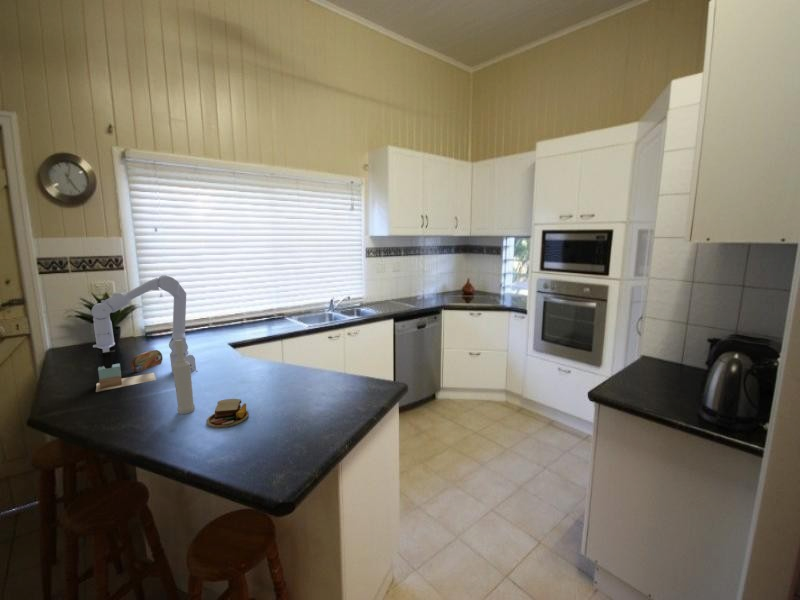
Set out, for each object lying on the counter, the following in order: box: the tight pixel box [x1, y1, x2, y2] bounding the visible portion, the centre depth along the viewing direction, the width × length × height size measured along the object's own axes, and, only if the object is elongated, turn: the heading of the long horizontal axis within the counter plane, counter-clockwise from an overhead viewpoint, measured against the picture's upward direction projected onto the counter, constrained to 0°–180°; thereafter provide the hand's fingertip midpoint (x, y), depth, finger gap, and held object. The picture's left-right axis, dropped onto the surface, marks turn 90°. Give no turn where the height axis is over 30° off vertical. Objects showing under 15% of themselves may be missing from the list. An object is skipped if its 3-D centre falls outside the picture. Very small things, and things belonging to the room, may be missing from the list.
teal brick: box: [97, 363, 122, 381], centre depth 154 cm, size 5×7×4 cm
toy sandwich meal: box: [206, 398, 249, 429], centre depth 123 cm, size 12×14×5 cm
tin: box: [130, 349, 163, 373], centre depth 175 cm, size 15×3×8 cm, turn 168°
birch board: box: [95, 372, 157, 393], centre depth 157 cm, size 20×12×1 cm, turn 127°
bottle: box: [172, 340, 196, 415], centre depth 128 cm, size 5×5×25 cm
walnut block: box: [98, 375, 123, 389], centre depth 154 cm, size 7×7×4 cm
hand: (108, 365), depth 153 cm, fingers open, 7 cm apart
